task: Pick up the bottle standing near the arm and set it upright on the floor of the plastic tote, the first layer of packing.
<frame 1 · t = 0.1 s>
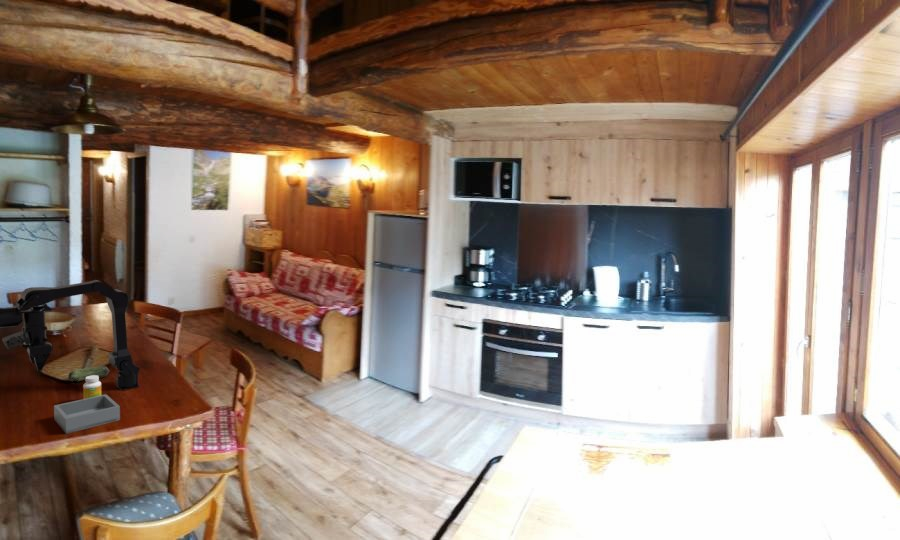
hand: (36, 366, 172), 15 cm above the table, tool pointing down, fingers open, 9 cm apart
vegetable: (89, 379, 200), on the table
supplement bottle: (92, 402, 180), on the table
tote: (87, 419, 166), on the table
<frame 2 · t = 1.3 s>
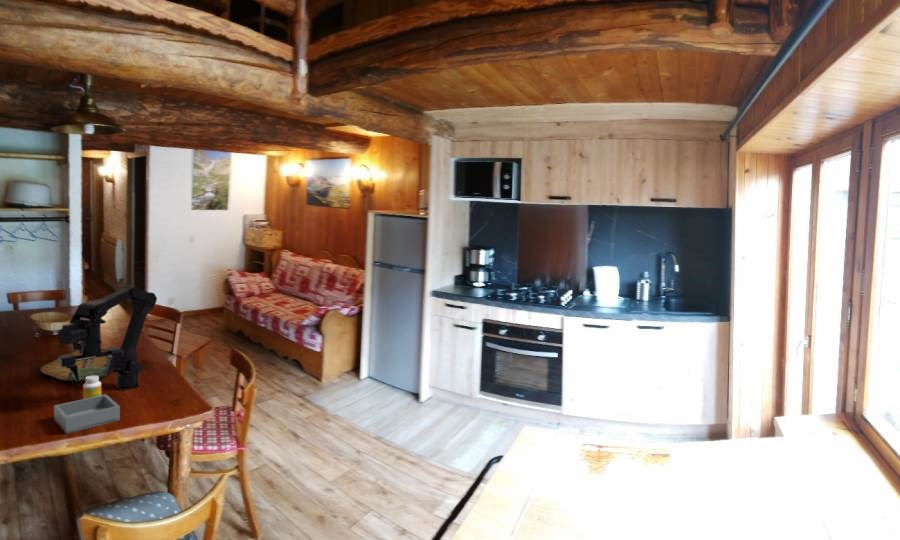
hand: (92, 378, 178), 9 cm above the table, tool pointing down, fingers open, 9 cm apart
nothing on the table moved.
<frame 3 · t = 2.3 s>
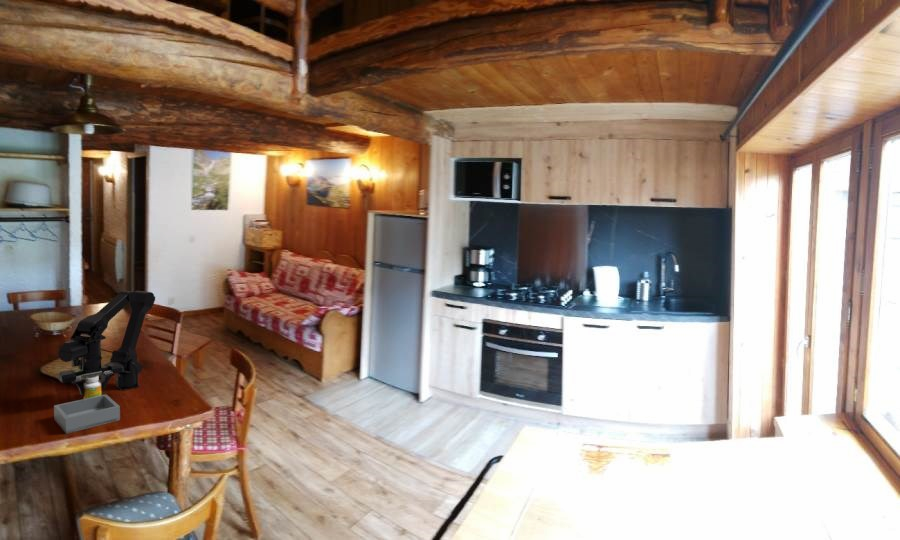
hand: (92, 394, 179), 3 cm above the table, tool pointing down, fingers closed on supplement bottle, 5 cm apart
supplement bottle: (92, 402, 180), on the table, touching gripper
everything else where it was.
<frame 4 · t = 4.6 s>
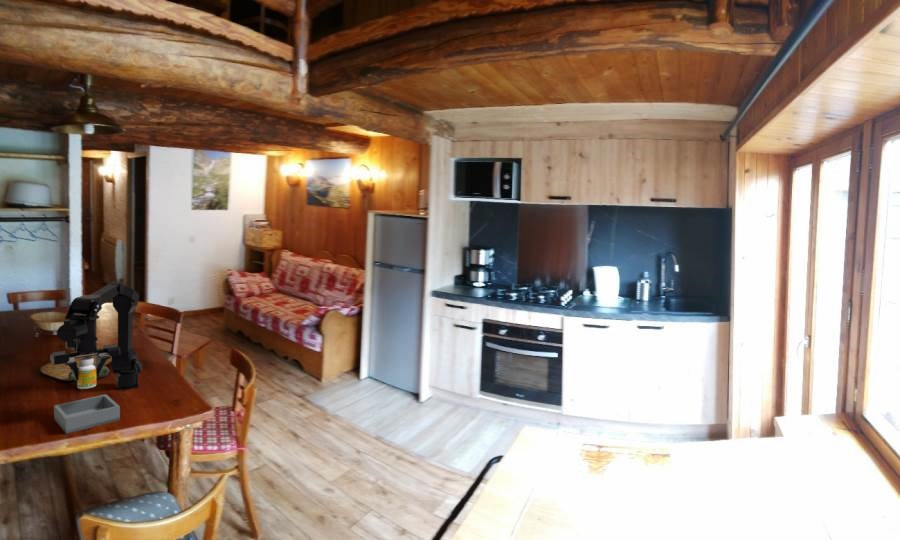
hand: (86, 378, 168), 14 cm above the table, tool pointing down, fingers closed on supplement bottle, 5 cm apart
supplement bottle: (86, 386, 168), point 10 cm above the table, touching gripper
everything else where it was.
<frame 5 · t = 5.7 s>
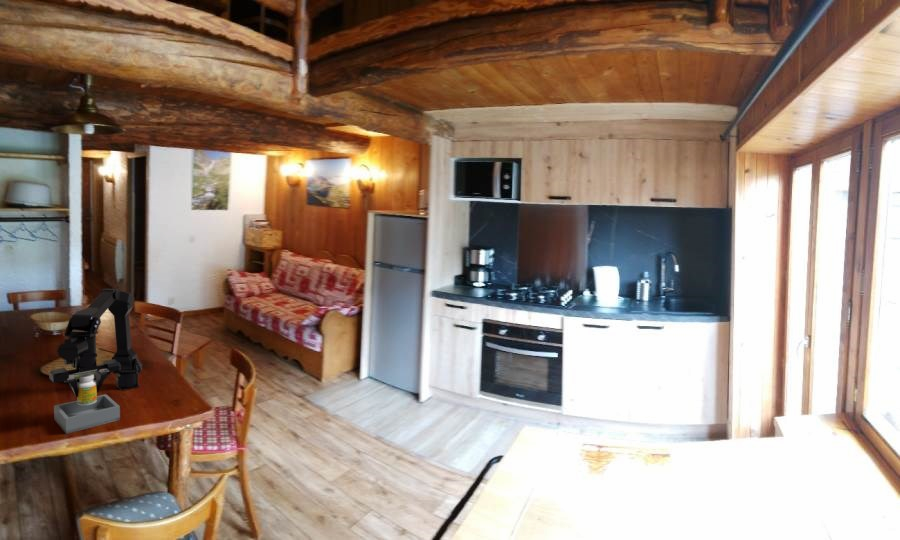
hand: (87, 394, 165), 9 cm above the table, tool pointing down, fingers closed on supplement bottle, 5 cm apart
supplement bottle: (87, 403, 165), point 6 cm above the table, touching gripper
everything else where it was.
when the fingers open (5 cm above the table, at t = 6.7 s): supplement bottle drops 1 cm, resting on tote.
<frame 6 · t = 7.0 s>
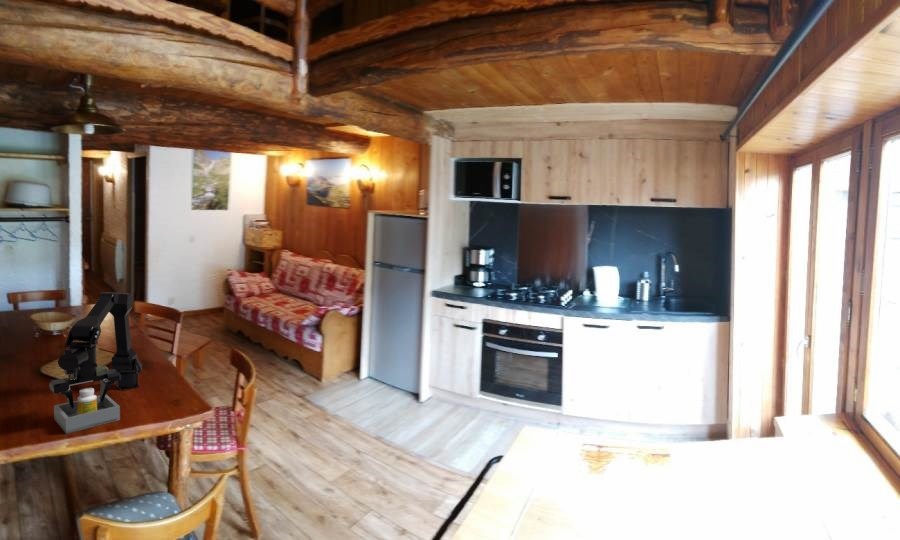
hand: (87, 404, 165), 5 cm above the table, tool pointing down, fingers open, 8 cm apart
supplement bottle: (87, 417, 166), point 1 cm above the table, touching tote
everything else where it was.
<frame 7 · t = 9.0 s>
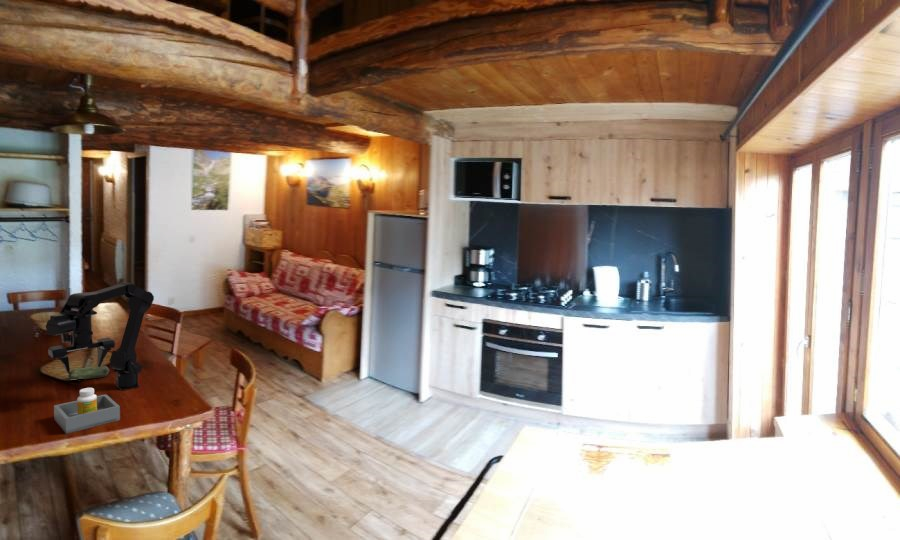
hand: (83, 370, 177), 13 cm above the table, tool pointing down, fingers open, 9 cm apart
nothing on the table moved.
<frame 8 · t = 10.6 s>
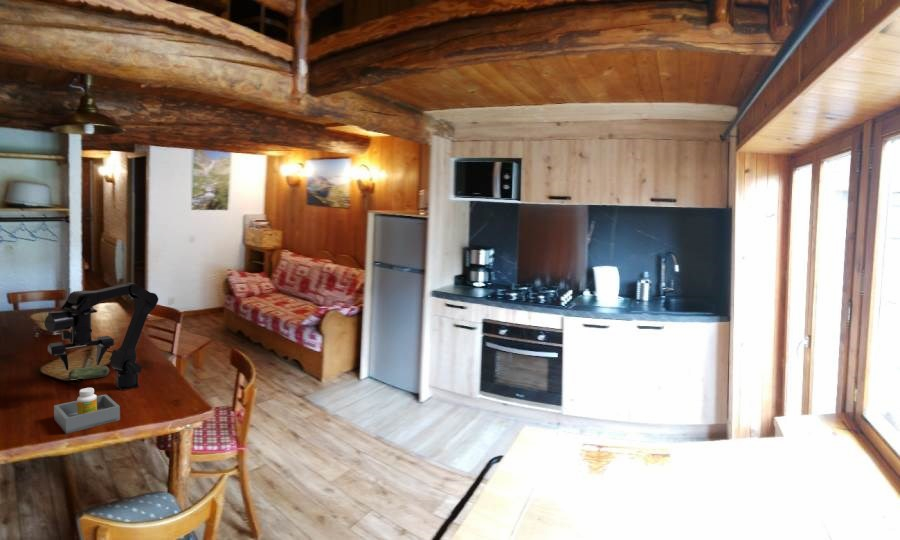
hand: (82, 367, 178), 13 cm above the table, tool pointing down, fingers open, 9 cm apart
nothing on the table moved.
at the end: supplement bottle inside the target area on the tote (0.1 cm from its centre), point 0.8 cm above the tote's base; supplement bottle tilted 0°; the gripper is holding nothing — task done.
